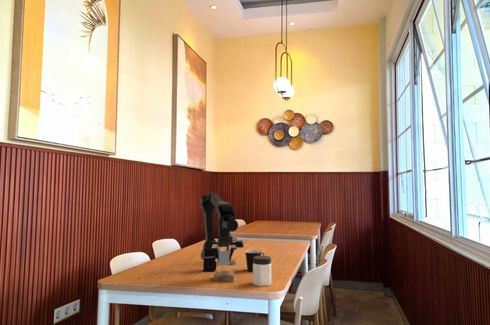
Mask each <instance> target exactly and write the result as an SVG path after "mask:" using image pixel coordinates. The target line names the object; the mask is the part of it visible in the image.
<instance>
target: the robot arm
mask: <svg viewBox="0 0 490 325" xmlns="http://www.w3.org/2000/svg"><path fill="white" fill-rule="evenodd" d="M198 203H199V206H200V210H201V212H202V213H203V218H204V219H203V220H204V221H203V222H204V234H205V241H204V242H203V245H202V250H201V252H200V259H201V260H203V268H202V272H216V271H217V267H218V266H217V263H219V251H221V250H220V248H224V247H225V248H227V247H228V246H229V247H230V258H229V262H230V261H231V260H232V257H233V254H234V251H235V250H238V249H239V248H240V249H241V248H244V240H242V239H237V240H236V241H233V238H234V237H233V236H232V235H231V233H232V232H233V233H234V232H236V231H237V230H238V227H239V224H238V221H237V220H236V219H235V218H236V211H235V210H234V208H233V204H232V203H230V202H228V201H224V200H223V199H222V198H221V197H220V196H219V195H218V193H217V192H216V191H213V192H212V191H209V192H207V193H206V194H204V195H203V196H201V197H200V198H199V202H198ZM214 211H215V212H216V214H217V220H218V230H217V232H218V237H217V241H216V239H215V228H214V218H213V217H214V216H213V212H214ZM216 259H217V260H216Z"/></svg>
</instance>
